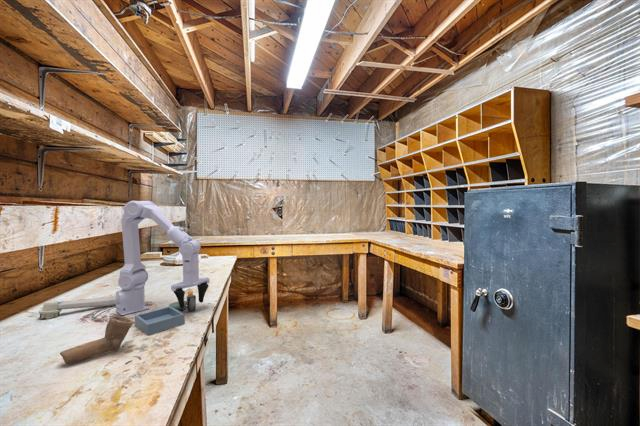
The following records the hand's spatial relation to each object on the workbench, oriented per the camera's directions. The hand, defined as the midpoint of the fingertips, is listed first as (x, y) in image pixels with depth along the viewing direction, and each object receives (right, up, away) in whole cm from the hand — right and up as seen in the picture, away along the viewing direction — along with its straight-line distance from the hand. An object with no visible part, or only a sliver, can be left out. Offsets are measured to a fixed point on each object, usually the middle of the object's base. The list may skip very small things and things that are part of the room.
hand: (191, 304), depth 116 cm
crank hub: (-6, -3, +1) cm, 7 cm away
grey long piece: (-43, -3, 0) cm, 44 cm away
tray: (-6, -3, -12) cm, 14 cm away
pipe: (-12, -4, -33) cm, 35 cm away
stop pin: (0, -3, 0) cm, 3 cm away
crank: (-5, -1, +3) cm, 6 cm away
